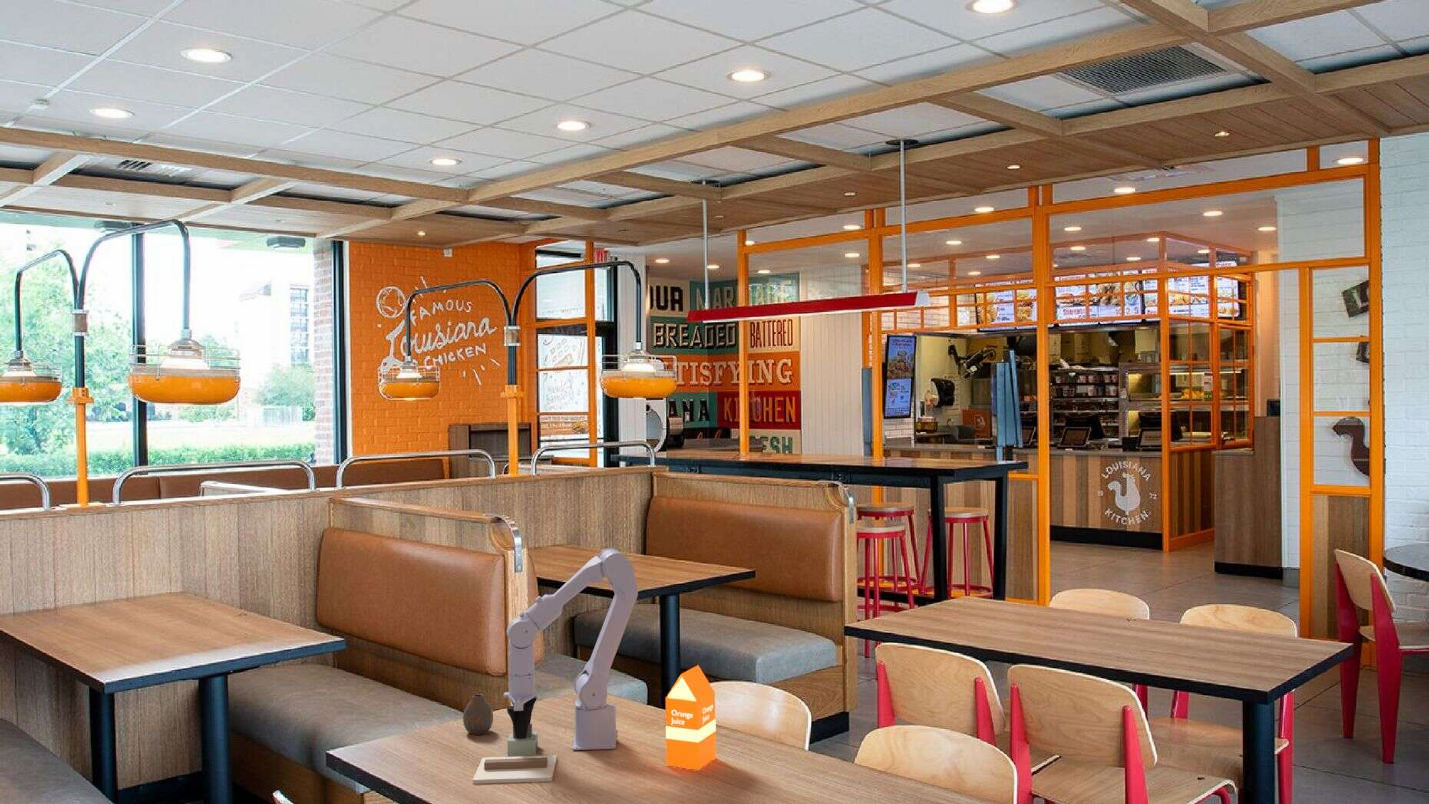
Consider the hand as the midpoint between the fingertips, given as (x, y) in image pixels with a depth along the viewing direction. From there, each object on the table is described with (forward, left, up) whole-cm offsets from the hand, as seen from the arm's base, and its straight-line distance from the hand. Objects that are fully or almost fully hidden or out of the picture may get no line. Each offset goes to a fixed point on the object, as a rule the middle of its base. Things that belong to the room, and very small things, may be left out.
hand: (522, 734), depth 255 cm
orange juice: (-37, +11, -4) cm, 39 cm away
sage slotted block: (0, 0, -4) cm, 4 cm away
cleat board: (0, +13, -4) cm, 14 cm away
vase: (+12, -15, -4) cm, 20 cm away
